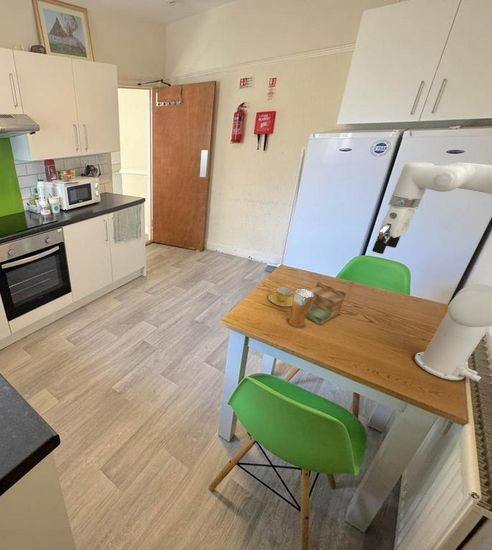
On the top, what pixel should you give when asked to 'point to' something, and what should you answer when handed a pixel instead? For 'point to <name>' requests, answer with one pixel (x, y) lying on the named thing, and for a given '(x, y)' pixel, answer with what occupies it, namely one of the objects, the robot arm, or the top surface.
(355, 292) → the top surface
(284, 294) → the cup
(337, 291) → the shelf riser
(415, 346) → the top surface
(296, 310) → the beer glass
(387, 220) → the robot arm
